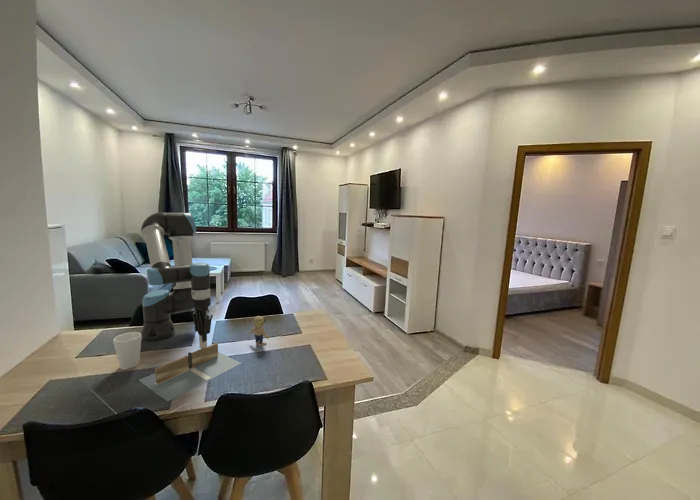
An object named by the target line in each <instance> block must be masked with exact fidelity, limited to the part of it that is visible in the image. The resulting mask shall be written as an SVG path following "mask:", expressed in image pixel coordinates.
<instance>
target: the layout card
mask: <svg viewBox="0 0 700 500" xmlns="http://www.w3.org/2000/svg"><path fill="white" fill-rule="evenodd" d="M241 364H242V362H240V361H238V360H236V359H235V358H231V356H227V355H225V354H223V353H221V352H219V351H218V356H217V357H214V358H212V359H210V360H208V361H206V362H203V363H201V364H199V365H197V366H195V367H192V368H189V370H187V371H185V372H183V373H181V374H178V375H176V376H174V377H172V378H170V379H167V380H165V381H163V382H161V383H159V384H157V383H156V374H155V372H154V373H151V374H150V375H147V376H145V377H142V378H140V379H138V382H140V383H141V384H142V385H144V386H145V387H146V388H148V389H150V390H151V391H152V392H154V393H155V394H157V395H158V396H159V397H160V398H162V399H163V400H165V401H166V402H170V401H172V400H174V399H176V398H177V397H179V396H182V395H183V394H186V393H187V392H189V391H191V390H193V389H195V388H197V387H199V386H200V385H201V386H202V385H203V384H204V383H207V382H208V381H210V380H212V379H215V378H216V377H218V376H220V375H221V374H224V373H225V372H228V371H231V370H232V369H233V368H235V367H238V366H239V365H241ZM188 365H189V364H188Z"/></svg>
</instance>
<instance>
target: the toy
mask: <svg viewBox="0 0 700 500" xmlns="http://www.w3.org/2000/svg"><path fill="white" fill-rule="evenodd" d="M265 323H266V319H265V318H264V317H263V316H260V315H257V316H255V317H254V318H253V324H254V326H253V327H252V328H251V330H250V331H249V332H248V334H249V335H250V334H251V333H253V335H254V337H255V345H259V346H265V345H267V342H264V337H265V338H266V339H267V340H269V339H270V336H269V335H267V333H266V331H265V329H264V326H265Z"/></svg>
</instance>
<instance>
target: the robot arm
mask: <svg viewBox="0 0 700 500" xmlns="http://www.w3.org/2000/svg"><path fill="white" fill-rule="evenodd" d="M140 230H141V231H140V232H141V236H142V237H143V238H144V240H145V244H146V245H145V246H146V248H147V254H148V259H149V264H150V268H148V269H147V270H146V278H147V284H148V285H149V286H162V285H169V284H175V286H174V287H173V289H172V290H173V291H170V290H168V289H159V290H154V291H151V292H148V293H146V294H144V296H143V297H142V305H141V306H142V312H143V313H142V314H143V326H142V327H141V332H140V333H141V334H142V340H141V341H143V342H159V341H163V340H166V339H169V338H171V337H173V336H174V335H175V334H176V327H175V326H174V323H173V321H172V320H171V319H172V318H171V315H175V314H179V313H180V314H181V313H185V312H191V315H192V319H193V325H194V331H195V332H197V334H198V341H199V343H198V344H199V350H200V349H202V348H205V347H207V346H208V342H207V341H208V335H209V334H211V326H212V319H213V317H214V315H213V314H210V310H209V308H210V306H211V305H212V304H211V303H212V301H211V300H212V299H211V279H210V278H211V277H210V275H211V274H210V273H211V270H210V264H209V263H208V262H198V263H197V262H196V263H193V254H192V243H191V242H192V239H194V235H195V234H196V233H197V225H196V219H195V218H194V216H193V215H192V213H191V212H190V213H189V212H160V211H159V212H155V213H153V214H151V215H149V216H148V217H146V219H144V221H143V223H142V224H141V228H140ZM164 235H168V239H170V240H171V241H172V253H173V262H174V263H173V264H174V266H173V265H171V261H170V257H169V254H168V249H167V245H166V242H165V238H164Z"/></svg>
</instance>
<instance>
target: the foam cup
mask: <svg viewBox="0 0 700 500" xmlns="http://www.w3.org/2000/svg"><path fill="white" fill-rule="evenodd" d="M142 341H143V340H142V334H141V332H137V331H136V332H135V331H134V332H133V331H132V332H126V333H122V334H119V335H117V336H115V337H114V338H113V339H112V342H113V346H114V349H115V353H116V357H117V360H118V364H119V367H120V369H121V370H123V371H127V370H129V369H133V368H134V367H137V366H139V365H140V357H141V347H142Z"/></svg>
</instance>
